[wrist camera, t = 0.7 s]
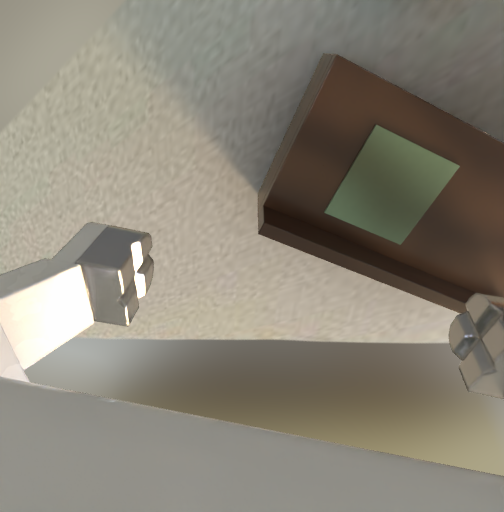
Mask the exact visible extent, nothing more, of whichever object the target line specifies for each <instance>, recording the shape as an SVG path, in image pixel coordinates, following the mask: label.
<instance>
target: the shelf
mask: <svg viewBox="0 0 504 512" xmlns="http://www.w3.org/2000/svg"><path fill="white" fill-rule="evenodd" d="M258 234H260V235H263V236H265V237H268V238H270V239H273V240H275V241H278V242H280V243H283V244H285V245H288V246H291V247H293V248H296V249H298V250H301V251H303V252H306V253H308V254H311V255H313V256H316V257H319V258H321V259H324V260H326V261H329V262H331V263H334V264H336V265H339V266H341V267H344V268H347V269H349V270H352V271H354V272H357V273H359V274H362V275H364V276H367V277H369V278H372V279H374V280H377V281H380V282H382V283H385V284H387V285H390V286H392V287H395V288H397V289H400V290H402V291H405V292H408V293H410V294H413V295H415V296H418V297H420V298H423V299H425V300H428V301H430V302H433V303H436V304H438V305H441V306H443V307H446V308H448V309H451V310H453V311H456V312H458V313H464V312H466V311H467V308H466V304H465V303H466V302H467V301H468V299H469V298H470V297H471V296H472V295H474V294H475V293H482V294H488V295H494V296H499V297H504V142H502V141H500V140H498V139H496V138H494V137H492V136H490V135H488V134H487V133H485V132H483V131H481V130H479V129H477V128H475V127H473V126H471V125H470V124H468V123H466V122H464V121H462V120H460V119H458V118H456V117H454V116H453V115H451V114H449V113H447V112H445V111H443V110H441V109H439V108H437V107H436V106H434V105H432V104H430V103H428V102H426V101H424V100H422V99H420V98H419V97H417V96H415V95H413V94H411V93H409V92H407V91H405V90H403V89H402V88H400V87H398V86H396V85H394V84H392V83H390V82H388V81H386V80H385V79H383V78H381V77H379V76H377V75H375V74H373V73H371V72H370V71H368V70H366V69H364V68H362V67H360V66H358V65H356V64H354V63H353V62H351V61H349V60H347V59H345V58H343V57H341V56H339V55H336V54H326V53H323V55H322V57H321V59H320V61H319V64H318V66H317V68H316V70H315V72H314V74H313V76H312V78H311V81H310V83H309V85H308V87H307V89H306V91H305V93H304V96H303V98H302V100H301V102H300V104H299V106H298V108H297V111H296V113H295V115H294V117H293V119H292V121H291V123H290V126H289V128H288V130H287V132H286V134H285V136H284V138H283V141H282V143H281V145H280V147H279V149H278V151H277V153H276V156H275V158H274V160H273V162H272V164H271V166H270V168H269V171H268V173H267V175H266V177H265V179H264V181H263V183H262V186H261V188H260V190H259V192H258Z"/></svg>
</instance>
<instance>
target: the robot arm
mask: <svg viewBox="0 0 504 512" xmlns="http://www.w3.org/2000/svg"><path fill="white" fill-rule="evenodd" d="M151 248H152V238H151V235H150V234H149V233H146V232H141V231H136V230H132V229H127V228H122V227H117V226H112V225H111V226H110V225H106V224H101V223H95V222H90V223H87V224H85V226H84V227H83V228H82V229H81V230H80V231H79V232H78V233H77V234H76V235H75V236H74V237H73V238H72V239H71V240H70V241H69V242H68V243H67V244H66V245H65V246H64V247H63V248H62V249H61V250H60V251H59V252H58V253H57V254H56V255H55V256H54V257H53V258H52V259H47V258H44V259H42V260H39V261H36V262H34V263H31V264H28V265H25V266H23V267H20V268H17V269H15V270H12V271H9V272H6V273H4V274H1V275H0V512H504V476H500V475H495V474H490V473H485V472H480V471H475V470H470V469H465V468H459V467H455V466H450V465H444V464H440V463H434V462H429V461H424V460H419V459H414V458H409V457H404V456H399V455H394V454H389V453H384V452H379V451H374V450H368V449H364V448H358V447H353V446H348V445H343V444H338V443H333V442H328V441H323V440H318V439H313V438H308V437H303V436H298V435H293V434H288V433H283V432H278V431H273V430H267V429H263V428H257V427H252V426H247V425H242V424H237V423H232V422H227V421H222V420H217V419H212V418H207V417H202V416H196V415H192V414H186V413H182V412H177V411H172V410H167V409H162V408H157V407H152V406H147V405H141V404H136V403H132V402H126V401H121V400H116V399H111V398H106V397H101V396H96V395H91V394H86V393H81V392H76V391H71V390H66V389H61V388H56V387H51V386H46V385H41V384H36V383H31V382H30V381H29V379H28V378H27V375H26V373H25V372H24V370H25V369H26V368H28V367H30V366H31V365H33V364H34V363H35V362H37V361H39V360H40V359H41V358H43V357H44V356H46V355H48V354H49V353H51V352H52V351H53V350H55V349H56V348H58V347H59V346H61V345H62V344H64V343H65V342H67V341H68V340H70V339H71V338H73V337H74V336H76V335H77V334H79V333H80V332H82V331H83V330H85V329H86V328H88V327H89V326H91V325H92V324H94V321H97V322H103V323H109V324H115V325H121V326H127V327H128V326H129V324H130V322H131V321H132V319H133V317H134V315H135V313H136V312H137V310H138V308H139V302H138V299H139V298H141V297H142V296H144V295H146V293H147V291H148V290H149V288H150V285H151V282H152V278H153V271H154V262H153V259H152V258H151V257H150V255H149V254H148V253H149V252H150V250H151ZM465 304H466V308H467V311H466V312H464V313H461V314H459V315H457V316H456V317H455V319H454V321H453V322H452V324H451V326H450V331H449V344H450V346H451V349H452V351H453V353H454V354H455V355H457V357H458V358H459V359H461V360H462V361H461V363H460V365H459V370H460V372H461V375H462V377H463V380H464V382H465V385H466V388H467V390H468V392H473V393H478V394H482V395H487V396H491V397H496V398H501V399H504V297H499V296H494V295H488V294H482V293H475V294H474V295H472V296H471V297H470V298H469V299H468V301H467V302H466V303H465Z"/></svg>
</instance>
